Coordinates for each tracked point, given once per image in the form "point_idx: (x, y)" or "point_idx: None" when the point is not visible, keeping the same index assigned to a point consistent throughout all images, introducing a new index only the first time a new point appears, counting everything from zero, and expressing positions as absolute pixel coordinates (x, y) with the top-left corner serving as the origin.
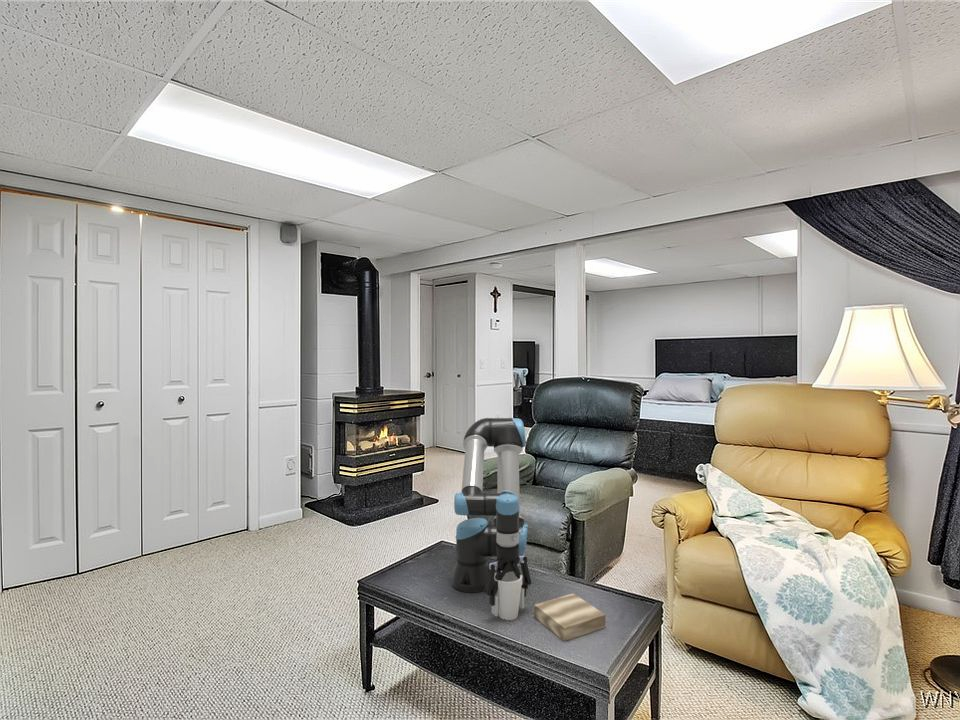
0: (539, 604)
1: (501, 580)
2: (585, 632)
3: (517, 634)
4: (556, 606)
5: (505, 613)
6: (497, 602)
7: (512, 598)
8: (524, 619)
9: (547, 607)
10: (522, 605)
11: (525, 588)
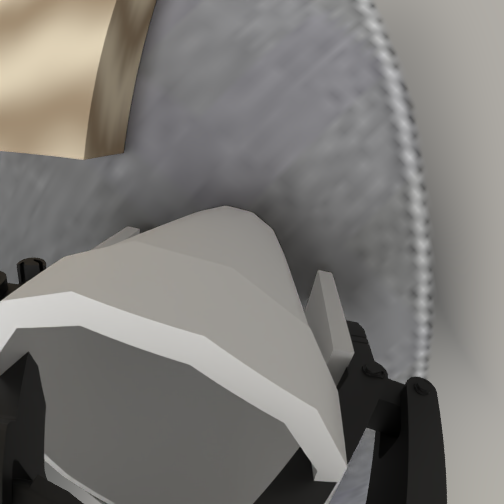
0: (61, 142)
1: (173, 453)
2: None
3: (332, 76)
4: (19, 71)
5: (278, 244)
6: (329, 316)
7: (230, 239)
8: (183, 165)
9: (52, 84)
10: (130, 235)
11: (45, 263)
